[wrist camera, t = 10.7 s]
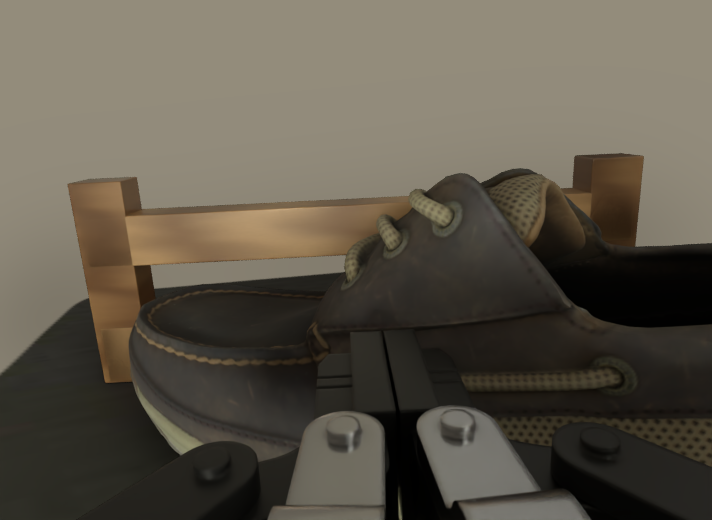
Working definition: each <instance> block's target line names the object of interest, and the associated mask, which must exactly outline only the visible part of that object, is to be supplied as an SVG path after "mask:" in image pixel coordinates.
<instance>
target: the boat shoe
mask: <svg viewBox="0 0 712 520" xmlns="http://www.w3.org/2000/svg"><path fill="white" fill-rule="evenodd" d="M408 201H409V203H410V205H411V206H412V209H411V210H410V211H409V212H408V213H407V214H406V215H404V216H403V217H402V218H400V219H399V220H396V219H395V218H393V217H392V216H389V215H387V214H384V215H381V216H380V217H379V218H378V219H377V222H376V227H377V229H378V231H379V233H377V234H374V235H371V236H369V237H367V238H364V239H362V240H360V241H358V242H357V243H355V244H354V245H353V246H352V247H351V248H350V249H349V251H348V253H347V255H346V259H345V266H344V268H345V272H344V273H343V274H342V275H340V276H339V277H338V278H337V279H336V280H335V282H334V283H333V284H332V285H331V286H330V288H329V289H328V290H327V292H323V291H301V290H283V289H272V288H263V287H252V286H240V285H221V284H202V285H197V286H192V287H188V288H185V289H182V290H178V291H175V292H172V293H169V294H167V295H164V296H161V297H159V298H157V299H154V300H152V301H150V302H148V303H146V304H144V305H143V306H142V307H141V308H140V311H139V313H138V316H137V318H136V321H135V323H134V326H133V328H132V331H131V333H130V337H129V345H128V346H129V358H130V371H131V373H130V376H131V378H132V381H133V384H134V388H135V391H136V394H137V396H138V398H139V400H140V402H141V404H142V406H143V407H144V409H145V411H146V413H147V414H148V416H149V417H150V418H151V420H152V421H153V423H154V424H155V426H156V427H157V429H158V430H159V432H160V433H161V435H163V436H164V437H165V439H166V440H167V442H168V443H169V445H170V446H171V447H172V448H173V449H174V450H175V451H176V452H177V453H178V454H180V455H182V454H184V453H186V452H187V451H189V450H191V449H193V448H196V447H198V446H201V445H204V444H207V443H212V442H218V441H235V442H240V443H243V444H246V445H248V446H249V447H251V448H252V449H253V450H254V451H255V453H256V454H257V458H258V462H260V461H264V460H268V459H271V458H275V457H278V456H281V455H284V454H286V453H289V452H291V451H293V450H295V449H296V448H298V447H299V446H300V444H301V440H302V436H303V433H304V430H305V429H306V427H307V426H308V425H309V424H310V423H311V422H312V421H313V419H314V408H315V398H316V389H317V379H318V378H317V376H318V365H319V364H320V363H321V362H322V361H323V360H324V358H325V357H326V356H327V355H328V354H340V353H351V340H350V332H369V331H381V335H382V340H383V331H387V330H405V329H414V331H415V334H416V336H417V339H418V342H419V345H420V348H421V349H431V348H438V349H440V350H441V351H443V352H444V353H446V354H447V355H449V356H450V357H452V359H453V362H454V364H455V366H456V368H457V371H458V372H459V374H460V376H461V378H462V381H463V383H464V385H465V387H466V389H467V391H468V393H469V395H470V398H471V400H472V402H473V404H474V406H475V408H476V409H478V410H480V411H483V412H485V413H486V414H488V415H490V416H491V417H492V418H493V419H494V420H495V421H496V422H497V424H498V425H499V427H500V428H501V430H502V431H503V433H504V434H505V436H506V437H507V438H509V439H512V440H515V441H519V442H525V443H531V444H538V445H545V446H552V437H553V434H554V432H555V431H556V430H557V429H558V428H560V427H561V426H563V425H566V424H570V423H575V422H592V423H599V424H604V425H608V426H612V427H615V428H617V429H620V430H623V431H625V432H627V433H630V434H632V435H635V436H637V437H640V438H642V439H645V440H647V441H649V442H652V443H654V444H657V445H659V446H662V447H664V448H667V449H669V450H672V451H674V452H676V453H679V454H681V455H684V456H686V457H689V458H691V459H694V460H696V461H698V462H701V463H703V464H706V465H708V466H711V467H712V243H707V244H688V245H674V246H648V247H647V246H645V247H628V246H620V245H613V244H609V243H607V242H605V241H603V240H602V238H601V234H602V232H601V230H600V228H599V226H598V225H597V224H596V223H595V222H594V221H592V220H591V219H590V218H589V217H588V216H587V215H586V214H585V213H584V212H583V211H582V210H581V209H580V208H578V207H577V206H576V205H575V204H574V203H573V202H572V201H571V200H570V199H569V198H568V197H567V196H566V195H564V194H563V193H562V191H561V189H560V187H559V186H558V185H557V184H556V183H555V182H553V181H551V180H549V179H547V178H545V177H544V176H543V175H540V174H537V173H535V172H533V171H531V170H529V169H521V168H520V169H512V170H508V171H505V172H501V173H500V174H498V175H496V176H495V177H493V178H491V179H489V180H487V181H484V182H482V183H479V182H478V181H477V180H476V179H475V178H474V177H472V176H470V175H468V174H463V173H459V174H454V175H451V176H447V177H445V178H444V179H443V180H441V181H440V182H438V183H437V184H436V185H434V186H433V187H432V188H431V189H429V190H428V191H425V190H422V189H415V190H414V191H412V192H411V193H410V195H409V197H408ZM398 503H399V497H398ZM399 520H402V516H401V510H400V503H399Z"/></svg>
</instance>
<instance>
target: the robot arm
mask: <svg viewBox="0 0 712 520" xmlns="http://www.w3.org/2000/svg"><path fill="white" fill-rule="evenodd" d="M350 340H351V353H340V354H328V355H327V356H326V357H325V358H324V360H323V361H322V362H321V363H320V364H319V365H318V376H317V378H318V379H317V389H316V398H315V408H314V419H313V421H312V422H311V423H310V424H309V425H308V426H307V427H306V429H305V430H304V433H303V436H302V440H301V444H300V446H299V447H298V448H296V449H295V450H293V451H291V452H289V453H286V454H284V455H281V456H278V457H275V458H271V459H268V460H264V461H260V462H258V458H257V454H256V453H255V451H254V450H253V449H252V448H251V447H249V446H248V445H246V444H243V443H240V442H235V441H218V442H212V443H207V444H204V445H201V446H198V447H196V448H193V449H191V450H189V451H187V452H186V453H184V454H182V455H181V456H179V457H177V458H176V459H174V460H173V461H171V462H169V463H168V464H166V465H164V466H163V467H161V468H160V469H158V470H156V471H155V472H153V473H151V474H150V475H148V476H147V477H145V478H143V479H142V480H140V481H138V482H137V483H135V484H133V485H132V486H130V487H129V488H127V489H125V490H124V491H122V492H120V493H119V494H117V495H116V496H114V497H112V498H111V499H109V500H107V501H106V502H104V503H103V504H101V505H99V506H98V507H96V508H94V509H93V510H91V511H89V512H88V513H86V514H85V515H83V516H81V517H80V518H78V519H76V520H399V503H400V510H401V516H402V520H712V467H711V466H708V465H706V464H703V463H701V462H698V461H696V460H694V459H691V458H689V457H686V456H684V455H681V454H679V453H676V452H674V451H672V450H669V449H667V448H664V447H662V446H659V445H657V444H654V443H652V442H649V441H647V440H645V439H642V438H640V437H637V436H635V435H632V434H630V433H627V432H625V431H623V430H620V429H617V428H615V427H612V426H608V425H604V424H599V423H592V422H575V423H570V424H566V425H563V426H561V427H560V428H558V429H557V430H556V431H555V432H554V434H553V437H552V446H545V445H538V444H531V443H525V442H519V441H515V440H512V439H509V438H507V437H506V436H505V434H504V433H503V431H502V430H501V428H500V427H499V425H498V424H497V422H496V421H495V420H494V419H493V418H492V417H491V416H490V415H488V414H486V413H485V412H483V411H480V410H478V409H476V408H475V406H474V404H473V402H472V400H471V398H470V395H469V393H468V391H467V389H466V387H465V385H464V383H463V381H462V378H461V376H460V374H459V372H458V371H457V368H456V366H455V364H454V362H453V359H452V357H450V356H449V355H447V354H446V353H444V352H443V351H441V350H440V349H438V348H431V349H421V348H420V345H419V342H418V339H417V336H416V334H415V331H414V329H405V330H387V331H383V340H382V335H381V331H369V332H350ZM398 497H399V503H398Z"/></svg>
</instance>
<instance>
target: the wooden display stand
mask: <svg viewBox="0 0 712 520" xmlns="http://www.w3.org/2000/svg"><path fill="white" fill-rule="evenodd" d="M643 159H644V156H640V155H631V154H622V153H619V154H599V155H577V156H575V157H574V172H573V188H563V189H562V188H561V191H562V193H563V194H564V195H566V196H567V197H568V198H569V199H570V200H571V201H572V202H573V203H574V204H575V205H576V206H577V207H578V208H580V209H581V210H582V211H583V212H584V213H585V214H586V215H587V216H588V217H589V218H590V219H591V220H592V221H594V222H595V223H596V224H597V225H598V226H599V228H600V230H601V232H602V234H601V238H602V240H603V241H605V242H607V243H609V244H613V245H620V246H628V247H635V242H636V232H637V222H638V212H639V202H640V191H641V180H642V171H643ZM68 189H69V195H70V200H71V205H72V210H73V216H74V221H75V226H76V231H77V237H78V242H79V247H80V253H81V258H82V263H83V268H84V274H85V279H86V284H87V289H88V295H89V300H90V305H91V311H92V316H93V321H94V326H95V332H96V337H97V342H98V348H99V353H100V358H101V363H102V369H103V374H104V379H105V383H114V382H133V381H132V378H131V376H130V373H131V371H130V358H129V346H128V345H129V337H130V333H131V331H132V328H133V326H134V323H135V321H136V318H137V316H138V313H139V311H140V308H141V307H142V306H143V305H144V304H146V303H148V302H150V301H152V300H154V299H155V292H154V286H153V280H152V273H151V266H150V265H159V264H179V263H199V262H218V261H238V260H256V259H277V258H297V257H316V256H336V255H347V253H348V251H349V249H350V248H351V247H352V246H353V245H354V244H355V243H357V242H358V241H360V240H362V239H364V238H367V237H369V236H371V235H374V234H377V233H379V231H378V229H377V227H376V222H377V219H378V218H379V217H380V216H381V215H384V214H387V215H389V216H392V217H393V218H395V219H396V220H399V219H400V218H402V217H403V216H404V215H406V214H407V213H408V212H409V211H410V210H411V209H412V206H411V205H410V203H409V201H408V197H409V196H399V197H381V198H359V199H341V200H340V199H339V200H319V201H298V202H278V203H259V204H237V205H218V206H197V207H178V208H157V209H141V202H140V195H139V189H138V182H137V178H136V177H124V178H102V179H87V180H83V181H78V182H74V183H69V184H68Z"/></svg>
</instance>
